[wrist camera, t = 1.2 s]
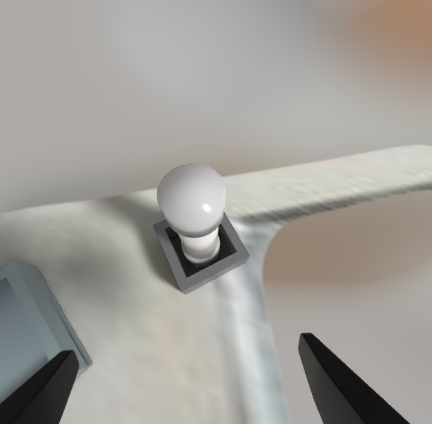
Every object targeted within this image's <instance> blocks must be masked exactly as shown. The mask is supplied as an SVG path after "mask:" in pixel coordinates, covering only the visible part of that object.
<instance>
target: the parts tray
mask: <svg viewBox="0 0 432 424" xmlns="http://www.w3.org/2000/svg"><path fill="white" fill-rule="evenodd" d="M63 350H74V351H75V353H76V356H77V358H78V361H79V370H78V373H77V376H76V379H77V378H78V377H79V376H80V375H81V374H82V373H83V372H84V371H85V370H87V369H88V368H89V367H90V366H91V365H92V364H93V363H92V361H91V359H90V357H89V356H88V354H87V352H86V351H85V349H84V347H83V345H82V344H81V342H80V340H79V339H78V337H77V335H76V333H75V332H74V330H73V328H72V327H71V325H70V323H69V321H68V320H67V318H66V316H65V315H64V313H63V311H62V309H61V308H60V306H59V304H58V303H57V301H56V299H55V297H54V296H53V294H52V292H51V291H50V289H49V287H48V285H47V284H46V282H45V280H44V279H43V277H42V275H41V273H40V272H39V270H38V268H37V267H35V266H31V265H27V264H22V263H18V262H14V261H12V262H11V263H9V264H8V265H6V266H5V267H3V268H2V269H0V403H1V402H2V401H4V400H5V399H6V398H7V397H8V396H9V395H11V394H12V393H13V392H14V391H15V390H16V389H17V388H19V387H20V386H21V385H22V384H23V383H24V382H26V381H27V380H28V379H29V378H30V377H31V376H33V375H34V374H35V373H36V372H37V371H38V370H39V369H41V368H42V367H43V366H44V365H45V364H46V363H48V362H49V361H50V360H51V359H52V358H53V357H54V356H56V355H57V354H58V353H59V352H61V351H63ZM76 379H75V380H76Z"/></svg>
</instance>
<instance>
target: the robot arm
mask: <svg viewBox="0 0 432 424" xmlns="http://www.w3.org/2000/svg"><path fill="white" fill-rule="evenodd" d="M298 350H299V355H300V358H301V361H302V364H303V367H304V370H305V374H306V377H307V380H308V383H309V386H310V389H311V392H312V395H313V399H314V401H315V404H316V406H317V409H318V411H319V414H320V416H321V419H322V421H323V423H324V424H410V423H409V422H408V421H407V420H405V419H404V418H403V417H402V416H401V415H400V414H399V413H398V412H397V411H396V410H395V409H393V408H392V407H391V406H390V405H389V404H388V403H387V402H386V401H385V400H384V399H383V398H382V397H380V396H379V395H378V394H377V393H376V392H375V391H374V390H373V389H372V388H371V387H369V386H368V385H367V384H366V383H365V382H364V381H363V380H362V379H361V378H360V377H359V376H358V375H357V374H356V373H354V372H353V371H352V370H351V369H350V368H349V367H348V366H347V365H346V364H345V363H344V362H342V361H341V360H340V359H339V358H338V357H337V356H336V355H335V354H334V353H333V352H332V351H331V350H329V349H328V348H327V347H326V346H325V345H324V344H323V343H322V342H321V341H320V340H319V339H317V338H316V337H315V336H314V335H313V334H312V333H301V334H300V340H299V347H298ZM78 370H79V361H78V358H77V356H76V353H75V351H74V350H63V351H61V352H59V353H58V354H57V355H56V356H54V357H53V358H52V359H51V360H50V361H49V362H48V363H46V364H45V365H44V366H43V367H42V368H41V369H39V370H38V371H37V372H36V373H35V374H34V375H33V376H31V377H30V378H29V379H28V380H27V381H26V382H24V383H23V384H22V385H21V386H20V387H19V388H17V389H16V390H15V391H14V392H13V393H12V394H11V395H9V396H8V397H7V398H6V399H5V400H4V401H2V402H1V403H0V424H59V422H60V420H61V417H62V415H63V412H64V409H65V407H66V404H67V401H68V398H69V395H70V393H71V390H72V387H73V384H74V382H75V379H76V376H77V373H78Z"/></svg>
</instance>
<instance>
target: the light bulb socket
mask: <svg viewBox="0 0 432 424" xmlns="http://www.w3.org/2000/svg"><path fill="white" fill-rule="evenodd" d="M153 226H154V229H155V231H156V233H157V236H158V238H159V240H160V243H161V245H162V248H163V250H164V252H165V255H166V257H167V260H168V262H169V264H170V267H171V269H172V271H173V274H174V276H175V279H176V281H177V283H178V286H179V288H180V291H181V292H182V293H184V294H187V293H189V292H191V291H193V290H195V289H197V288H199V287H201V286H202V285H204V284H206V283H208V282H210V281H212V280H214V279H215V278H217V277H219V276H221V275H223V274H225V273H227V272H228V271H230V270H232V269H234V268H236V267H238V266H240V265H241V264H243V263H245V262H246V260H247V259H248V258H249V256H250V255H249V253H248V252H247V250H246V248H245V247H244V245H243V243H242V241H241V240H240V238H239V236H238V235H237V233H236V231H235V229H234V228H233V226H232V224H231V223H230V221H229V219H228V217H227V216H226V214H225V212H224V216H223V219H222V222H221V223H220V225H219V226H218V232H219V233H220V235H221V237H222V239H223V241H224V242H225V244H226V246H227V248H228V250H229V252H230V253H231V255H230V256H228V257H226V258H224V259H222V260H220V261H218V262H216V263H215V264H213V265H211V266H209V267H207V268H205V269H203V270H201V271H199V272H197V273H195V274H193V275H191V276H190V277H187V275H186V272H185V270H184V268H183V266H182V263H181V261H180V259H179V256H178V254H177V252H176V250H175V247H174V245H173V243H172V241H171V239H172V238H174V237H177V236H179V235H178V233H176V232H175V231H174V230H173V229H172V228H171V227H170V225H169V224H168V222H167V220H164V221H162V222H159V223H157V224H155V225H153Z"/></svg>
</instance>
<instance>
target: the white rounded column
mask: <svg viewBox="0 0 432 424" xmlns="http://www.w3.org/2000/svg"><path fill="white" fill-rule="evenodd" d="M157 200H158V204H159V206H160V208H161V210H162V212H163V214H164V216H165V218H166V220H167V222H168V224H169V225H170V227H171V228H172V229H173V230H174V231H175V232H176V233H178V235H179V237H180V239H181V241H182V242H181V247H182V250H183V253H184V255H185V257H186V258H187V260H188V261H189V262H190V263H191V264H193V265H195V266H198V267H205V266H208V265H210V264H212V263H213V262H214V261H215V260H216V258H217V257H218V254H219V247H220V240H219V236H218V226H219V225H220V223H221V222H222V219H223V216H224V208H225V201H226V186H225V183H224V181H223V179H222V178H221V176H220V175H219V174H218V173H217V172H216V171H214V170H213V169H211V168H209V167H207V166H204V165H200V164H186V165H182V166H178V167H176V168H174V169H173V170H171V171H170V172H168V173H167V174H166V175H165V176H164V177H163V179H162V180H161V182H160V184H159V186H158V190H157Z"/></svg>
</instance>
